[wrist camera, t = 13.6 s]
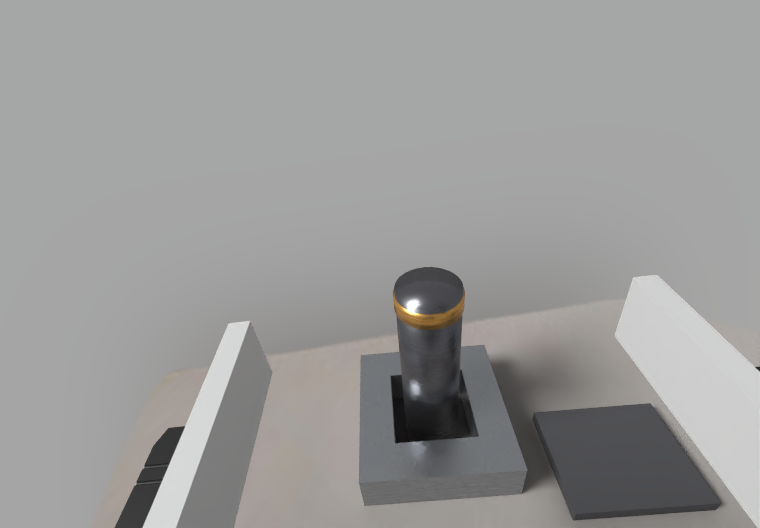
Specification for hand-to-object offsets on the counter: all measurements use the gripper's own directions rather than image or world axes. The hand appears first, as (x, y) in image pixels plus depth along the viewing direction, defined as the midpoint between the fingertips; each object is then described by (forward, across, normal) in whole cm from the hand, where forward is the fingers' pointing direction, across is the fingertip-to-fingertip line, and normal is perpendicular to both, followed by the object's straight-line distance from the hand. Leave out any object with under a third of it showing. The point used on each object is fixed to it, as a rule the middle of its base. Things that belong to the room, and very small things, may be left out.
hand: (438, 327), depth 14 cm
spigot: (+10, 0, -22) cm, 24 cm away
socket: (+10, 0, -22) cm, 24 cm away
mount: (+6, +14, -22) cm, 27 cm away
